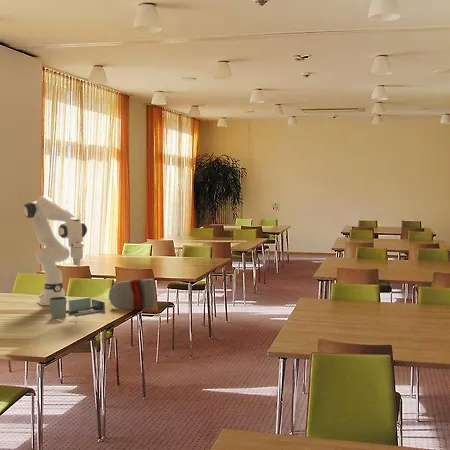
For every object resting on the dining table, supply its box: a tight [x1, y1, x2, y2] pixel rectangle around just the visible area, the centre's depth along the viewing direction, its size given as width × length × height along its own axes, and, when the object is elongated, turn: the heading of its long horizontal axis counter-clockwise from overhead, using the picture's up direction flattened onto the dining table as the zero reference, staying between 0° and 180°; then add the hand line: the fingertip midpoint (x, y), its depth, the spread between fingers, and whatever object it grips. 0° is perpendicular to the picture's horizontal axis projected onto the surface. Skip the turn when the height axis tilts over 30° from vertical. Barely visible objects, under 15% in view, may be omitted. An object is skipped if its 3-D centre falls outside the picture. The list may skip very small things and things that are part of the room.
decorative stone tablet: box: [108, 278, 157, 311], centre depth 424 cm, size 19×6×30 cm
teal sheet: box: [68, 296, 92, 312], centre depth 416 cm, size 2×14×9 cm, turn 130°
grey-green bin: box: [49, 296, 67, 320], centre depth 402 cm, size 10×10×12 cm
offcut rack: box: [66, 298, 106, 317], centre depth 413 cm, size 15×20×7 cm
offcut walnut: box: [76, 309, 96, 314], centre depth 410 cm, size 4×10×2 cm, turn 121°
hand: (76, 265), depth 416 cm, fingers open, 8 cm apart
